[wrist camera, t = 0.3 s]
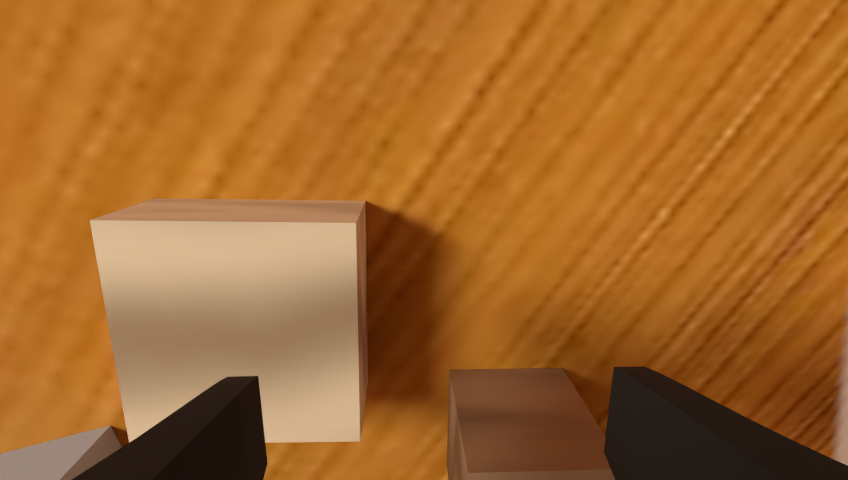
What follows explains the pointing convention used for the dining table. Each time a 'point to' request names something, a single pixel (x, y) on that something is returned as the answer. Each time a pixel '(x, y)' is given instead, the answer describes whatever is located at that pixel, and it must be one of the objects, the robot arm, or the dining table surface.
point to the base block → (239, 309)
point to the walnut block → (521, 427)
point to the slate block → (59, 456)
